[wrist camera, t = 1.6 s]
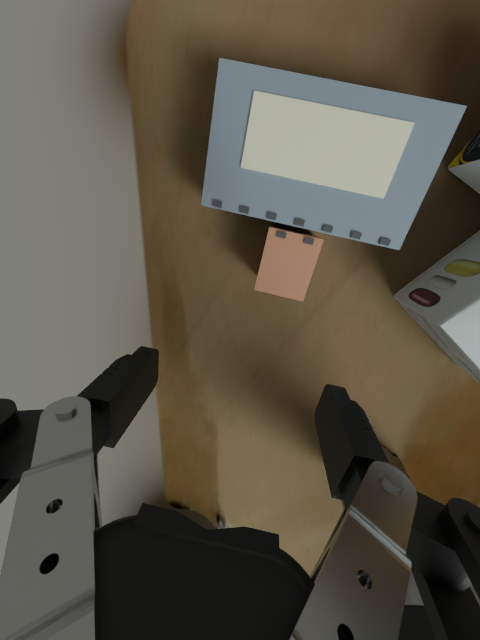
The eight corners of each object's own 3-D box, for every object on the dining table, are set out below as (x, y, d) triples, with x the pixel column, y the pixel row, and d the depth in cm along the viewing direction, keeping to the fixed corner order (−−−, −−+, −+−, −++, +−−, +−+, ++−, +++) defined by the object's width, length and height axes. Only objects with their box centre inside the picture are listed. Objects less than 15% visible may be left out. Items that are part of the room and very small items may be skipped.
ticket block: (419, 134, 22) (469, 104, 16) (373, 244, 26) (400, 250, 20) (232, 96, 23) (218, 56, 17) (216, 208, 27) (200, 205, 21)
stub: (314, 235, 27) (324, 239, 21) (298, 286, 29) (303, 302, 23) (270, 225, 27) (269, 227, 21) (258, 276, 29) (254, 290, 24)
